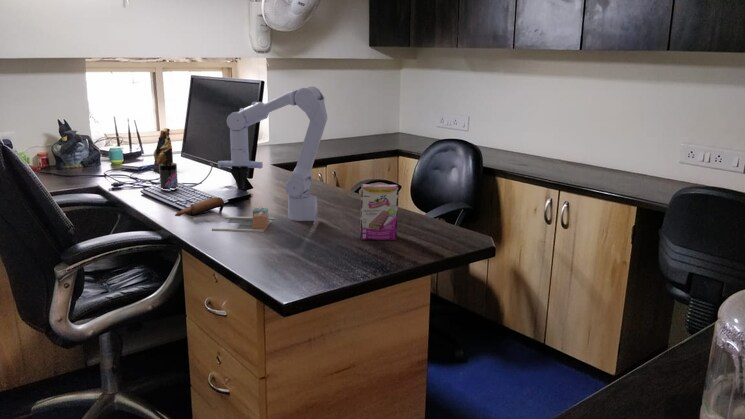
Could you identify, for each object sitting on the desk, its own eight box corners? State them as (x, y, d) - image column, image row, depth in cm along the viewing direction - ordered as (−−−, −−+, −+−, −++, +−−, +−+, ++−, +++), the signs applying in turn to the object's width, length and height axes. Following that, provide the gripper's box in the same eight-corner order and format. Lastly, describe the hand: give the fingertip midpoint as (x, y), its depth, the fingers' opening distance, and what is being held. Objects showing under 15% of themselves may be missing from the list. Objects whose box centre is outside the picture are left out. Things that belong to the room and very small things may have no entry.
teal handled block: (268, 220, 200) (267, 206, 199) (265, 223, 196) (265, 209, 195) (256, 219, 200) (255, 206, 199) (253, 223, 196) (252, 209, 195)
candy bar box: (360, 240, 184) (360, 187, 180) (360, 235, 189) (360, 183, 185) (397, 240, 185) (398, 187, 181) (396, 236, 190) (397, 184, 186)
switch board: (274, 223, 202) (273, 217, 201) (263, 236, 187) (263, 230, 187) (226, 221, 203) (225, 216, 202) (212, 234, 188) (211, 228, 188)
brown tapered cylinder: (205, 204, 225) (212, 189, 222) (219, 215, 223) (227, 201, 221) (172, 215, 209) (179, 200, 206) (187, 227, 207) (195, 212, 205)
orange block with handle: (268, 225, 194) (268, 211, 193) (265, 229, 190) (265, 214, 189) (256, 225, 194) (255, 211, 193) (253, 228, 190) (252, 214, 189)
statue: (151, 171, 285) (148, 128, 281) (168, 169, 290) (165, 127, 285) (160, 175, 276) (157, 130, 271) (177, 173, 281) (175, 129, 276)
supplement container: (161, 192, 243) (159, 166, 240) (159, 188, 249) (157, 163, 246) (179, 190, 246) (177, 165, 243) (176, 187, 252) (175, 162, 249)
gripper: (264, 147, 205) (265, 187, 209) (221, 146, 206) (223, 185, 209) (259, 150, 199) (260, 191, 202) (215, 149, 199) (217, 190, 203)
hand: (241, 189), depth 205 cm, fingers closed
